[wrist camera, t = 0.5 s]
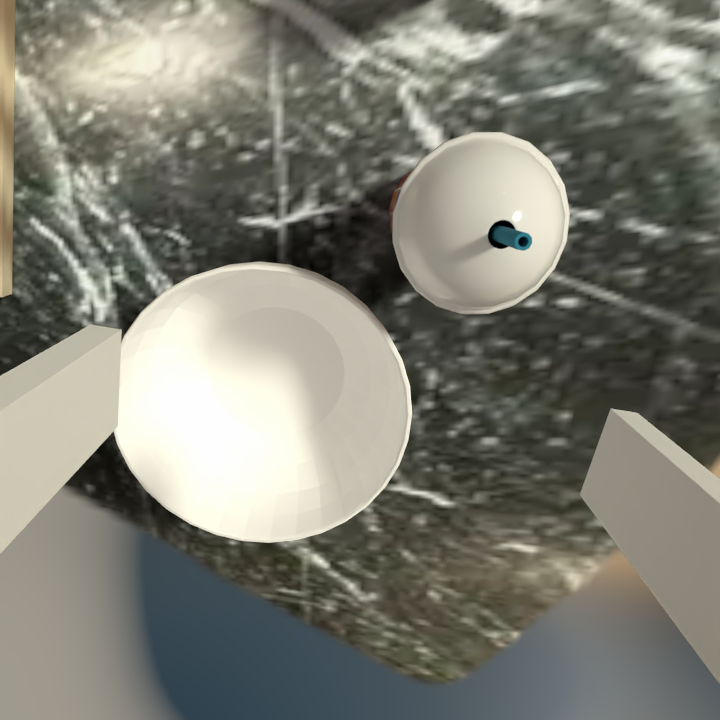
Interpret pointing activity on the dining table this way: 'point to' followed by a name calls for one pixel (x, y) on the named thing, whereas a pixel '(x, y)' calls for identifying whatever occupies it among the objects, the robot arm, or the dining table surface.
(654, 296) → the dining table surface
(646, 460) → the robot arm
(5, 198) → the board
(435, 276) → the smoothie
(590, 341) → the dining table surface
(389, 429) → the bowl
